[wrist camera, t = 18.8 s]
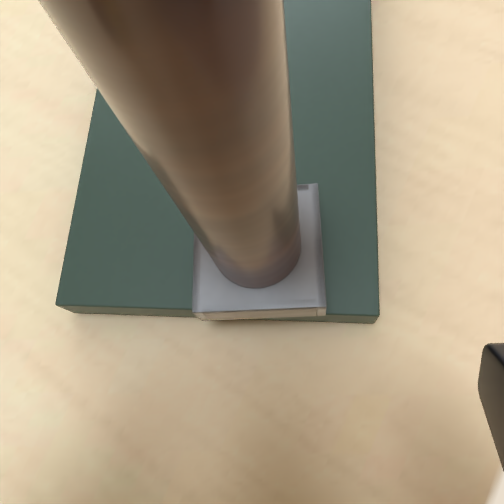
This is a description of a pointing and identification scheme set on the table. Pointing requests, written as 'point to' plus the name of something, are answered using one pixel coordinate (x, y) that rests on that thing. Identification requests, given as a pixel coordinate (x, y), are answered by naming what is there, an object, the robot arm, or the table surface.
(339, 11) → the cutting board
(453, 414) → the table surface
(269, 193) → the handled stamp
